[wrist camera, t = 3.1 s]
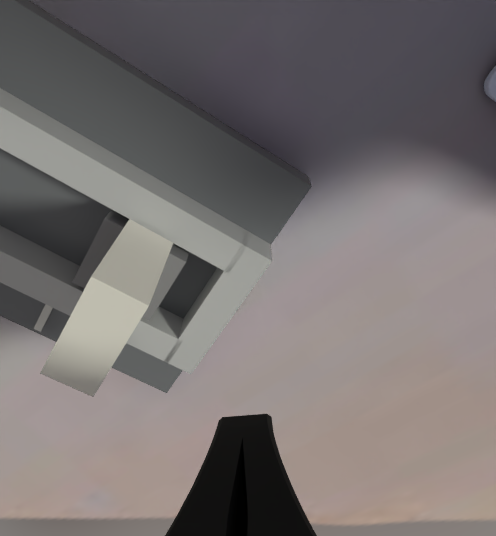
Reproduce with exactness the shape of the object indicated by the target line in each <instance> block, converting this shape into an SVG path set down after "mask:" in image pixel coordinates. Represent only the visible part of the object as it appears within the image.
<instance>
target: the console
mask: <svg viewBox="0 0 496 536" xmlns="http://www.w3.org/2000/svg"><path fill="white" fill-rule="evenodd" d="M311 187H312V186H311V183H310V181H309V178H308V176H306V175H305V174H303V173H301V172H300V171H298V170H297V169H295V168H293V167H292V166H290V165H289V164H287V163H285V162H284V161H282V160H281V159H279V158H278V157H276V156H274V155H273V154H271V153H270V152H268V151H266V150H265V149H263V148H262V147H260V146H259V145H257V144H255V143H254V142H252V141H251V140H249V139H247V138H246V137H244V136H243V135H241V134H239V133H238V132H236V131H235V130H233V129H232V128H230V127H228V126H227V125H225V124H224V123H222V122H220V121H219V120H217V119H216V118H214V117H212V116H211V115H209V114H208V113H206V112H205V111H203V110H201V109H200V108H198V107H197V106H195V105H193V104H192V103H190V102H189V101H187V100H186V99H184V98H182V97H181V96H179V95H178V94H176V93H174V92H173V91H171V90H170V89H168V88H166V87H165V86H163V85H162V84H160V83H159V82H157V81H155V80H154V79H152V78H151V77H149V76H147V75H146V74H144V73H143V72H141V71H140V70H138V69H136V68H135V67H133V66H132V65H130V64H128V63H127V62H125V61H124V60H122V59H120V58H119V57H117V56H116V55H114V54H113V53H111V52H109V51H108V50H106V49H105V48H103V47H101V46H100V45H98V44H97V43H95V42H93V41H92V40H90V39H89V38H87V37H86V36H84V35H82V34H81V33H79V32H78V31H76V30H74V29H73V28H71V27H70V26H68V25H67V24H65V23H63V22H62V21H60V20H59V19H57V18H55V17H54V16H52V15H51V14H49V13H47V12H46V11H44V10H43V9H41V8H40V7H38V6H36V5H35V4H33V3H32V2H30V1H28V0H0V316H2V317H4V318H6V319H9V320H11V321H13V322H15V323H17V324H19V325H22V326H24V327H26V328H28V329H30V330H32V331H34V332H37V333H39V334H41V335H43V336H45V337H47V338H49V339H52V340H54V341H56V342H57V340H58V338H59V337H60V335H61V333H62V331H63V329H64V327H65V325H66V323H67V321H68V319H69V318H70V316H71V314H72V312H73V310H74V308H75V306H76V304H77V302H78V301H79V299H80V297H81V295H82V293H83V291H84V289H85V288H83V287H81V286H79V285H77V284H75V283H72V281H73V279H74V277H75V276H76V274H77V272H78V270H79V268H80V266H81V264H82V262H83V260H84V258H85V256H86V254H87V252H88V250H89V248H90V246H91V244H92V242H93V240H94V238H95V236H96V234H97V232H98V230H99V228H100V226H101V224H102V223H103V221H104V219H105V217H106V216H107V215H108V213H109V212H110V211H111V210H114V211H116V212H118V213H119V214H121V215H123V216H125V217H127V218H128V219H131V220H132V221H134V222H136V223H138V224H140V225H142V226H143V227H145V228H147V229H149V230H151V231H152V232H154V233H156V234H158V235H160V236H162V237H163V238H165V239H167V240H169V241H171V242H173V243H174V244H176V245H178V246H180V247H181V248H183V249H185V250H187V251H189V254H188V258H187V261H186V263H185V265H184V266H183V268H182V270H181V271H180V273H179V275H178V276H177V278H176V279H175V281H174V283H173V284H172V286H171V287H170V289H169V291H168V292H167V294H166V295H165V297H164V299H163V300H162V302H161V303H160V305H159V307H158V308H157V310H156V311H155V313H154V315H153V316H152V318H151V319H150V321H149V320H147V319H145V318H143V317H142V318H141V320H140V321H139V323H138V325H137V326H136V328H135V330H134V331H133V333H132V334H131V336H130V338H129V339H128V341H127V343H126V344H125V346H124V348H123V349H122V351H121V352H120V354H119V356H118V357H117V359H116V361H115V362H114V364H113V366H112V368H114V369H116V370H118V371H120V372H122V373H125V374H127V375H129V376H131V377H133V378H135V379H138V380H140V381H142V382H144V383H146V384H148V385H150V386H153V387H155V388H157V389H159V390H161V391H163V392H165V393H167V392H168V390H169V389H170V388H171V386H172V385H173V383H174V382H175V380H176V379H177V378H178V376H179V375H180V373H181V372H182V370H183V371H185V372H187V373H189V374H192V372H193V371H194V369H195V368H196V367H197V365H198V364H199V363H200V361H201V360H202V358H203V357H204V356H205V354H206V353H207V351H208V350H209V349H210V347H211V346H212V344H213V343H214V342H215V340H216V339H217V337H218V336H219V335H220V333H221V332H222V330H223V329H224V328H225V326H226V325H227V323H228V322H229V321H230V319H231V318H232V316H233V315H234V314H235V312H236V311H237V309H238V308H239V307H240V305H241V304H242V302H243V301H244V300H245V298H246V297H247V295H248V294H249V293H250V291H251V290H252V288H253V287H254V286H255V284H256V283H257V281H258V280H259V279H260V277H261V276H262V274H263V273H264V272H265V270H266V269H267V267H268V266H269V265H270V263H271V262H272V253H271V244H272V242H273V241H274V239H275V238H276V236H277V235H278V234H279V232H280V231H281V229H282V228H283V226H284V225H285V224H286V222H287V221H288V219H289V218H290V216H291V215H292V214H293V212H294V211H295V209H296V208H297V206H298V205H299V204H300V202H301V201H302V199H303V198H304V197H305V195H306V194H307V192H308V191H309V189H310V188H311Z"/></svg>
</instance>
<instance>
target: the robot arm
mask: <svg viewBox="0 0 496 536" xmlns="http://www.w3.org/2000/svg"><path fill="white" fill-rule="evenodd" d="M484 90H485V93H486V94H487V96H488V97H489V98H491V99H492V100H493V101H495V102H496V66H495V67H494V68H493V69H492V71H491V72H490V73H489V74H488V76H487V78H486V80H485V83H484ZM165 536H317V535H316V534H315V532H314V530H313V529H312V526H311V524H310V523H309V521H308V519H307V517H306V515H305V513H304V511H303V509H302V507H301V505H300V503H299V500H298V498H297V496H296V494H295V492H294V490H293V487H292V485H291V483H290V480H289V478H288V475H287V473H286V470H285V468H284V465H283V463H282V460H281V457H280V454H279V451H278V448H277V445H276V441H275V437H274V433H273V426H272V418H271V416H269V415H268V414H259V415H246V416H233V417H222V418H221V419H220V420H219V422H218V426H217V429H216V432H215V435H214V438H213V441H212V443H211V446H210V448H209V451H208V453H207V456H206V458H205V460H204V463H203V465H202V467H201V469H200V471H199V473H198V476H197V478H196V480H195V482H194V484H193V486H192V488H191V490H190V492H189V494H188V496H187V498H186V500H185V501H184V503H183V505H182V507H181V509H180V511H179V513H178V515H177V516H176V518H175V520H174V522H173V523H172V525H171V527H170V528H169V530H168V532H167V534H166V535H165Z"/></svg>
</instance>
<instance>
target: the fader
mask: <svg viewBox="0 0 496 536" xmlns="http://www.w3.org/2000/svg"><path fill="white" fill-rule="evenodd" d="M188 254H189V251H187V250H185V249H183V248H181V247H180V246H178V245H176V244H174V243H173V242H171V241H169V240H167V239H165V238H163V237H162V236H160V235H158V234H156V233H154V232H152V231H151V230H149V229H147V228H145V227H143V226H142V225H140V224H138V223H136V222H134V221H132V220H131V219H128V218H127V217H125V216H123V215H121V214H119V213H118V212H116V211H114V210H111V211H110V212H109V213H108V215H107V216H106V217H105V219H104V221H103V223H102V224H101V226H100V228H99V230H98V232H97V234H96V236H95V238H94V240H93V242H92V244H91V246H90V248H89V250H88V252H87V254H86V256H85V258H84V260H83V262H82V264H81V266H80V268H79V270H78V272H77V274H76V276H75V277H74V279H73V281H72V283H75V284H77V285H79V286H81V287H83V288H85V289H84V291H83V293H82V295H81V297H80V299H79V301H78V302H77V304H76V306H75V308H74V310H73V312H72V314H71V316H70V318H69V319H68V321H67V323H66V325H65V327H64V329H63V331H62V333H61V335H60V337H59V338H58V340H57V342H56V344H55V346H54V348H53V350H52V352H51V354H50V356H49V357H48V359H47V361H46V363H45V365H44V367H43V369H42V371H41V373H40V374H43V375H45V376H47V377H49V378H52V379H54V380H56V381H58V382H61V383H63V384H65V385H67V386H70V387H72V388H74V389H76V390H79V391H81V392H83V393H85V394H88V395H90V396H92V397H94V395H95V393H96V392H97V390H98V388H99V387H100V385H101V384H102V382H103V380H104V379H105V377H106V375H107V374H108V372H109V370H110V369H111V367H112V366H113V364H114V362H115V361H116V359H117V357H118V356H119V354H120V352H121V351H122V349H123V348H124V346H125V344H126V343H127V341H128V339H129V338H130V336H131V334H132V333H133V331H134V330H135V328H136V326H137V325H138V323H139V321H140V320H141V318H142V317H143V318H145V319H147V320H149V321H150V319H151V318H152V316H153V315H154V313H155V311H156V310H157V308H158V307H159V305H160V303H161V302H162V300H163V299H164V297H165V295H166V294H167V292H168V291H169V289H170V287H171V286H172V284H173V283H174V281H175V279H176V278H177V276H178V275H179V273H180V271H181V270H182V268H183V266H184V265H185V263H186V261H187V258H188Z"/></svg>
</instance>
